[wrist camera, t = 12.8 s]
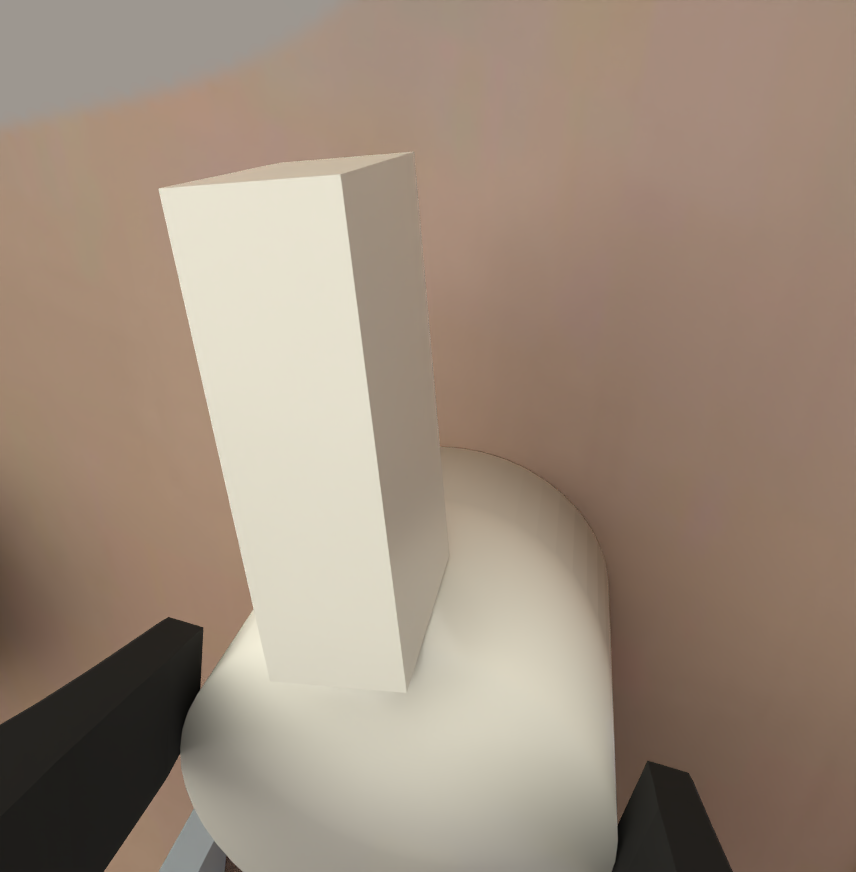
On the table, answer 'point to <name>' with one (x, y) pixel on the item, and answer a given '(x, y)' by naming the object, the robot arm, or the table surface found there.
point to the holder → (194, 850)
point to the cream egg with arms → (379, 561)
